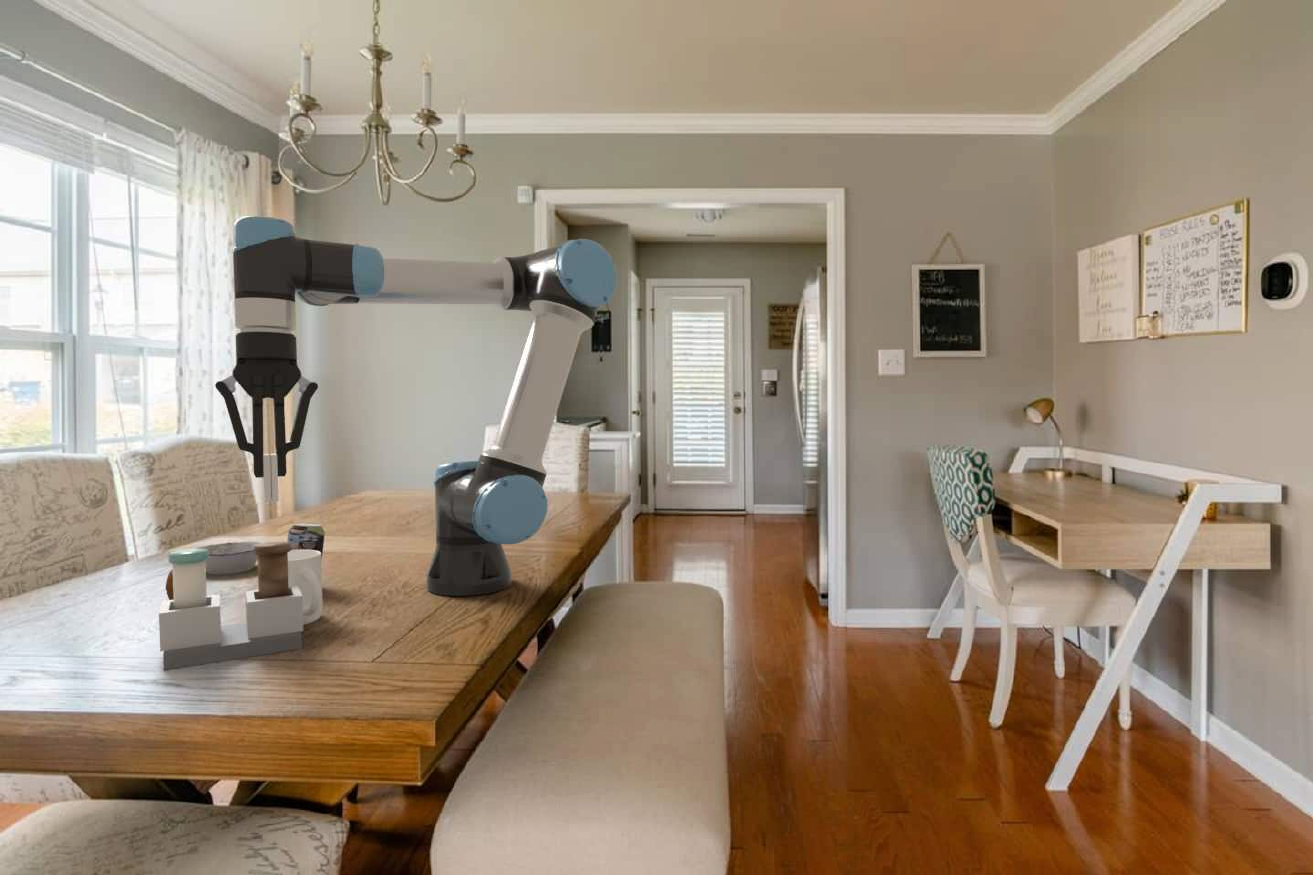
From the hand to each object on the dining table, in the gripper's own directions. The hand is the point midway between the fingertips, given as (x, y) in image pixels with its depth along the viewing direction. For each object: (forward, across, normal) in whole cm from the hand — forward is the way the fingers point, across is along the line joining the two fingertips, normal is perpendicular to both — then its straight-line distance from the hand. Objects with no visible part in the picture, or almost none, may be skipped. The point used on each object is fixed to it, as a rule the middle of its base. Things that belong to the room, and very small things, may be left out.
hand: (270, 500), depth 105 cm
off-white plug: (+14, +10, 0) cm, 18 cm away
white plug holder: (+20, +5, 0) cm, 21 cm away
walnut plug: (+14, 0, 0) cm, 14 cm away
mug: (+21, -4, -8) cm, 23 cm away
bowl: (+21, +5, -54) cm, 58 cm away
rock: (+21, +11, -27) cm, 36 cm away
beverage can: (+21, -7, -30) cm, 37 cm away
